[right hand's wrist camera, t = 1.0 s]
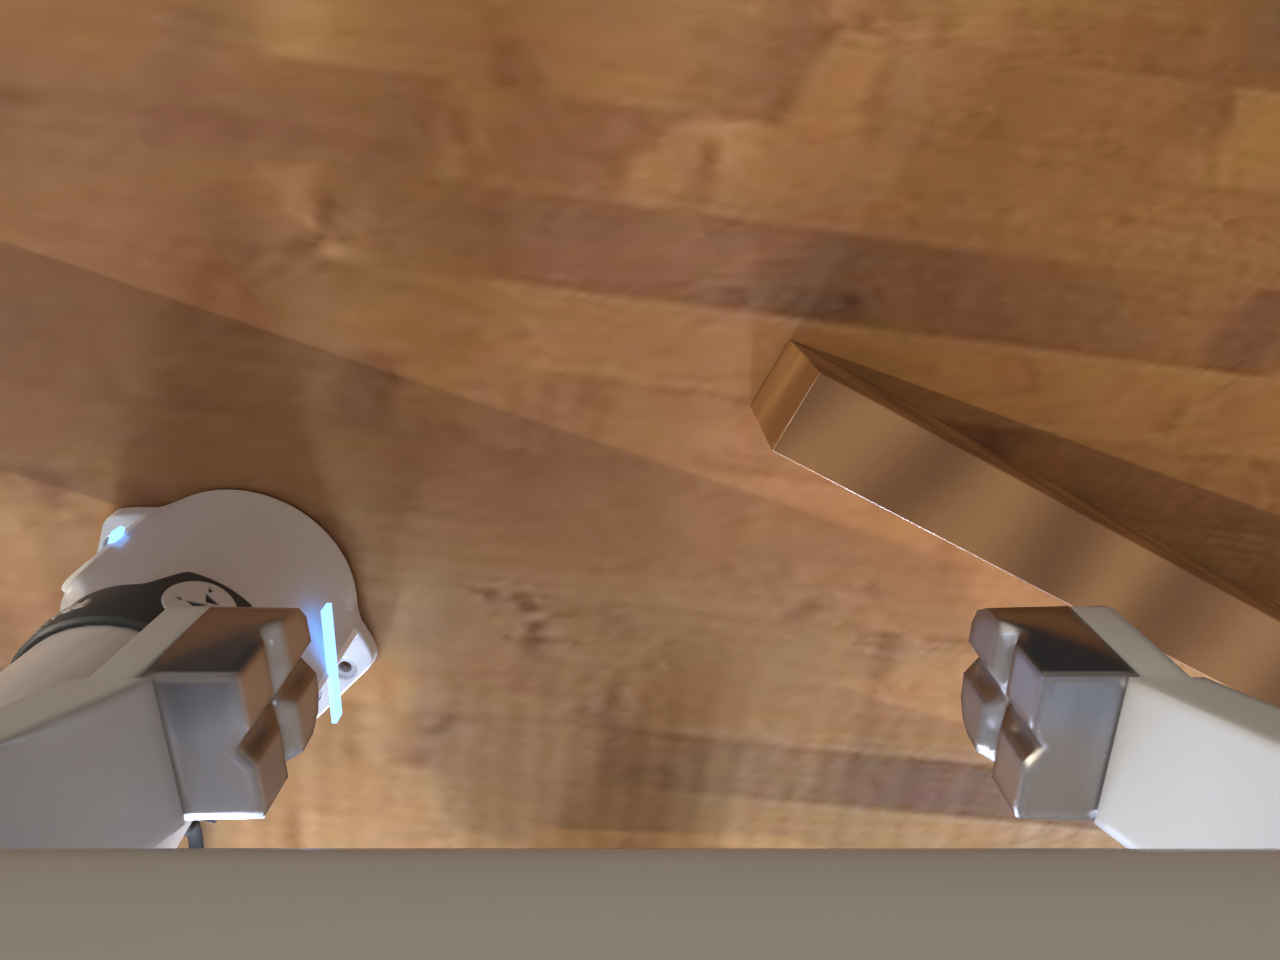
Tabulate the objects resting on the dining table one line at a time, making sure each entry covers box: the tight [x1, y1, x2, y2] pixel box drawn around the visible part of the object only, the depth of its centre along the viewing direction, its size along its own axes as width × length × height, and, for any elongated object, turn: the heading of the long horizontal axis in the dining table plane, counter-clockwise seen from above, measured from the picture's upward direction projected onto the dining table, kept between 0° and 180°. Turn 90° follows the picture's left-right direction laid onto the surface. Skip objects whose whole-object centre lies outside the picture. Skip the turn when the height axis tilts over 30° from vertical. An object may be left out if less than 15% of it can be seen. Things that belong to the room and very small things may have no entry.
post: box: [750, 340, 1280, 707], centre depth 51 cm, size 69×5×9 cm, turn 62°
